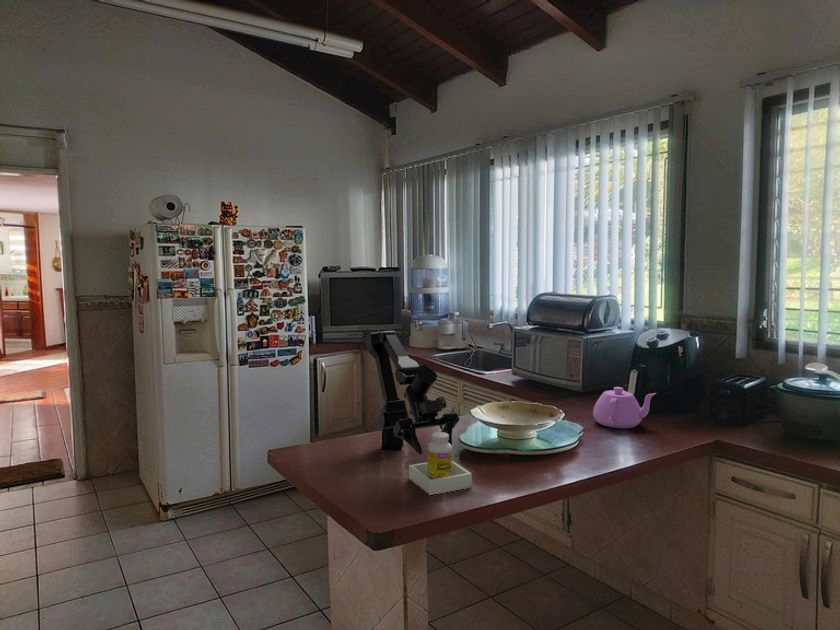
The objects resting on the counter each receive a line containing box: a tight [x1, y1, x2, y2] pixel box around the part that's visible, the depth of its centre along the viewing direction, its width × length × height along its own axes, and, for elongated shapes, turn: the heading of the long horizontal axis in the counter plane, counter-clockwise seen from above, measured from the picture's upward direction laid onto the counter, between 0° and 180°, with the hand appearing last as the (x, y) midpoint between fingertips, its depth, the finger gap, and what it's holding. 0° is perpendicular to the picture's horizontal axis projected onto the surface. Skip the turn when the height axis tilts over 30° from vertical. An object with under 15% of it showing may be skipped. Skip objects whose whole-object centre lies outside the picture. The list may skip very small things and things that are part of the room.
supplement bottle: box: [426, 431, 453, 480], centre depth 158 cm, size 7×7×13 cm
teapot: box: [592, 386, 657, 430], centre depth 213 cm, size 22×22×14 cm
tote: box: [408, 460, 473, 496], centre depth 159 cm, size 13×13×4 cm
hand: (436, 451), depth 160 cm, fingers open, 9 cm apart
